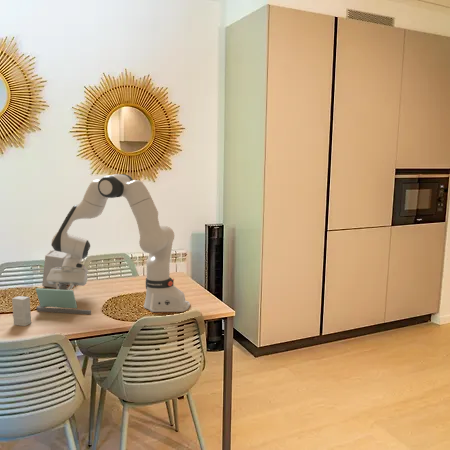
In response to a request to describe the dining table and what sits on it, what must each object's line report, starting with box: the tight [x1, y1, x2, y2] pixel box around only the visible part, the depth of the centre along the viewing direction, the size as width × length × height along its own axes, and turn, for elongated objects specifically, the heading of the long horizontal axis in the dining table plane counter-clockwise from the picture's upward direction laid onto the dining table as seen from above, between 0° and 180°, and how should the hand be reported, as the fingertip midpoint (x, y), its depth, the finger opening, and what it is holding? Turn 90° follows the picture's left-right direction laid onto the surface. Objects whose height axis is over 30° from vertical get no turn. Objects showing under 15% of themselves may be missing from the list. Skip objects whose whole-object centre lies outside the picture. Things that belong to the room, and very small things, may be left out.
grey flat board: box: [36, 304, 92, 315], centre depth 224 cm, size 27×12×2 cm, turn 82°
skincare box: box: [11, 295, 32, 327], centre depth 203 cm, size 6×4×12 cm
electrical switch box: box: [41, 249, 66, 289], centre depth 262 cm, size 15×15×20 cm
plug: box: [59, 284, 68, 290], centre depth 232 cm, size 4×4×8 cm
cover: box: [35, 287, 78, 309], centre depth 217 cm, size 18×10×1 cm
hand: (62, 291), depth 231 cm, fingers closed on plug, 3 cm apart
